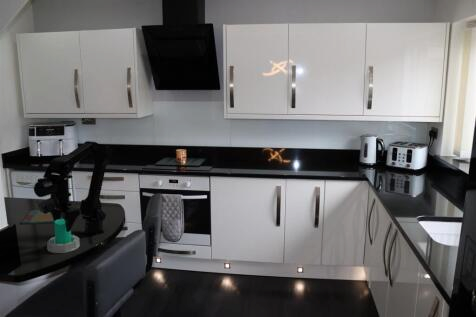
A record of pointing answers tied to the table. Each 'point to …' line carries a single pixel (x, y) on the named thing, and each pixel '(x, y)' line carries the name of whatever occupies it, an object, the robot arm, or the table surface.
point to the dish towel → (38, 218)
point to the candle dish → (63, 245)
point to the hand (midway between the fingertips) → (62, 228)
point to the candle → (61, 232)
